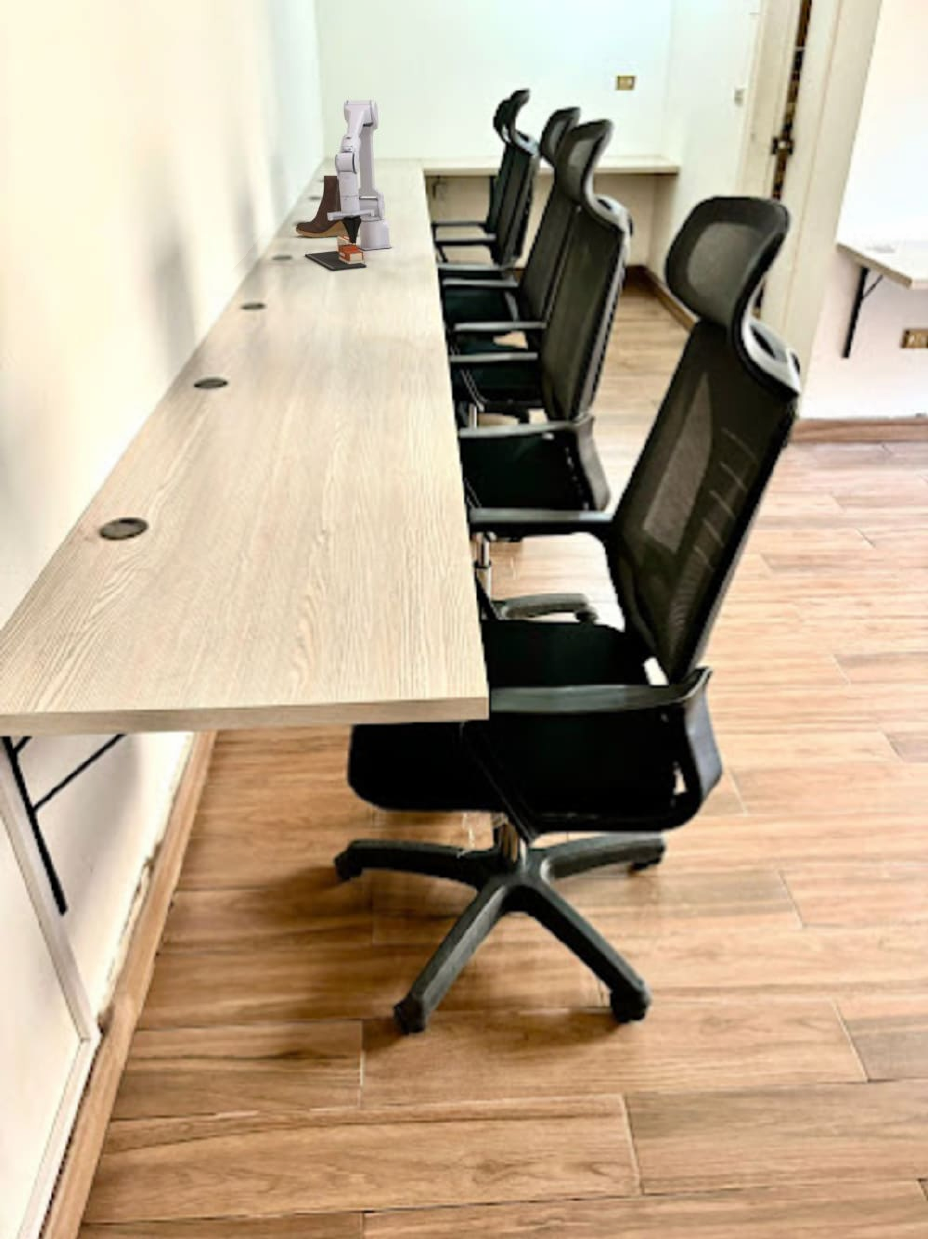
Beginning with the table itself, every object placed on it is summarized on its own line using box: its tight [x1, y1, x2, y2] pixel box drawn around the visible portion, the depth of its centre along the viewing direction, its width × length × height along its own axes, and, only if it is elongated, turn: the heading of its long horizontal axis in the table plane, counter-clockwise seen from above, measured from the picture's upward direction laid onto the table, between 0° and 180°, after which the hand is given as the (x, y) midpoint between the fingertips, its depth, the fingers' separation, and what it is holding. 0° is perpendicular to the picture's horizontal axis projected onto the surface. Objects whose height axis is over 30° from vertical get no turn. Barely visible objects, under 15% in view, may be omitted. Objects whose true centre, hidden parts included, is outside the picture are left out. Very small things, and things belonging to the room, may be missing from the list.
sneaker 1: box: [336, 236, 357, 252], centre depth 310 cm, size 4×10×5 cm, turn 25°
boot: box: [295, 174, 360, 239], centre depth 337 cm, size 9×24×20 cm, turn 84°
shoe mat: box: [304, 250, 367, 272], centre depth 301 cm, size 11×28×1 cm, turn 25°
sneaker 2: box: [337, 244, 365, 264], centre depth 298 cm, size 4×10×5 cm
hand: (353, 242), depth 297 cm, fingers closed
